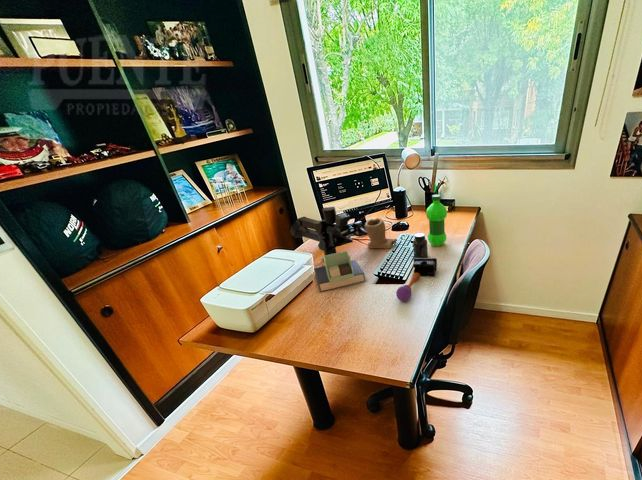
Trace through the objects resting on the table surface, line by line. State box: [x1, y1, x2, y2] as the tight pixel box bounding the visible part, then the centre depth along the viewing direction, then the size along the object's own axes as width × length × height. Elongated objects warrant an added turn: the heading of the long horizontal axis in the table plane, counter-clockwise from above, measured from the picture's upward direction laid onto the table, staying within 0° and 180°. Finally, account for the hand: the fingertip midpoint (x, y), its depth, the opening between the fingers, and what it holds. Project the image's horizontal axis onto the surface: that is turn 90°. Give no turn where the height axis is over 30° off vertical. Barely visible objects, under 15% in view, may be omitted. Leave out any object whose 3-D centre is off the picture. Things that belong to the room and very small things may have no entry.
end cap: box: [412, 257, 438, 278], centre depth 145 cm, size 10×7×7 cm
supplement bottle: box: [412, 232, 429, 259], centre depth 156 cm, size 7×7×12 cm
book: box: [313, 259, 366, 293], centre depth 147 cm, size 16×20×4 cm
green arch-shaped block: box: [322, 250, 354, 283], centre depth 138 cm, size 6×11×10 cm, turn 110°
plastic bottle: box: [425, 194, 448, 247], centre depth 164 cm, size 10×10×25 cm
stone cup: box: [364, 217, 398, 249], centre depth 170 cm, size 15×12×15 cm
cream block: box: [328, 265, 341, 278], centre depth 139 cm, size 4×4×4 cm
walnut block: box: [339, 263, 351, 276], centre depth 140 cm, size 4×4×4 cm
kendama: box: [395, 272, 421, 302], centre depth 133 cm, size 6×6×20 cm
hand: (360, 237), depth 144 cm, fingers open, 9 cm apart
